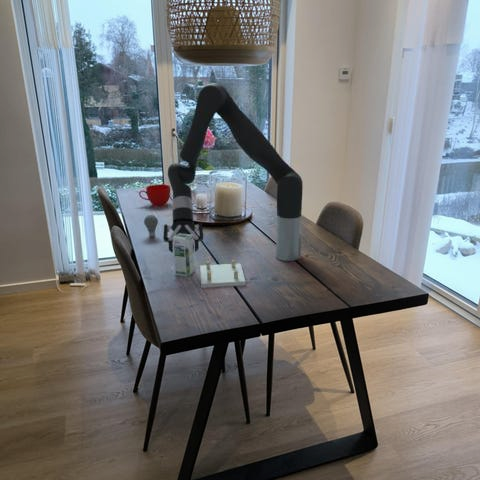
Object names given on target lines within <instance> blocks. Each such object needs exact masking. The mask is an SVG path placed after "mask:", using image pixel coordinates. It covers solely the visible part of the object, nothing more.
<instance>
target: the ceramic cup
mask: <svg viewBox="0 0 480 480" xmlns="http://www.w3.org/2000/svg"><path fill="white" fill-rule="evenodd" d="M141 193H145V194H146V197H147V198H145V197H143V195H141ZM138 195H139V197H140V198H141V199H143V200H145V201H149V203H151V205H152V206H154V207H163V206H166V204H167V203H168V202H169V200H170V197H171V185H167V184H162V183H161V184H152V185H148V186H146V188H145V190H140V191H139V192H138Z"/></svg>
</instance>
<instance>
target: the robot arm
mask: <svg viewBox="0 0 480 480" xmlns="http://www.w3.org/2000/svg"><path fill="white" fill-rule="evenodd" d="M197 95H198V97H197V100H196V105H195V110H194V113H193V118H192V121H191V124H190V127H189V129H188V131H187V134H186V137H185V139H184V142H183V145H182V147H181V150H180V153H179V158H180V159H181V160H182V161H184V162H186V163H188V164H187V165H186V164H182V163H178V162H172V163H171V164H170V165H169V167H168V169H167V178H168V181H169V184H170V188H171V191H172V223H171V224H172V225H168V224H164V225H163V242H164V243H167V244H168V251H169V252H170V253H171V254H172V253H173V254H174V248H173V237H174V236H176V235H177V234H179V233H183V234H194V253H197V252H198V250H199V248H200V246H199V243H200V242H201V241H204V231H203V224H202V223H201V222H200V223H198V224H195V223H194V207H193V205H194V204H193V201H192V200H193V197H192V196H193V195H192V189H191V187H190V186H189V185H191V183H193V182H194V181H195V178H196V174H197V171H196V170H197V165H198V161H199V160H198V159H199V157H200V155H201V153H202V149H203V148H204V145H205V141H206V136H207V133H208V129H209V126H210V124H211V122H212V120H213V118H214V116H215V115H216V114H217V115H218V116H219V117H220V118H221V119H222V121H224V123H225V124H226V125H227V127H228V129H229V131H230V133H231V136H232V137H233V138H234V140H235V142H236V143H237V145H238V146H239V148H240V149H241V150H242V151H243V152H244V153H245V154H246V155H247V157H249V158H250V159H251V160H252V161H253V162H255V164H257V165H258V166H260V167H262V168H263V169H264V170H265V171H266V172H267V173H268V174H269V175H270V177H271V178H272V179H273V181H274V182H275V184H276V231H275V232H276V237H275V238H276V239H275V241H276V242H275V258H276V259H278V260H279V261H283V262H293V261H296V260H301V259H302V257H301V255H302V243H303V242H302V237H303V236H302V234H301V232H302V231H301V228H302V209H303V206H302V205H303V179H302V177H301V176H300V175H299V173H298V172H296V171H295V170H294V169H293V168H292V167H291V166H290V165H289V164H288V163H286V161H285V160H284V159H283V158H282V157H281V155H280V154H279V152H278V151H277V150H276V148H275V147H274V146H273V144H271V142H270V141H269V140H268V139H267V137H266V135H264V133H263V132H262V131H261V130H260V129H259V127H257V126H256V124H254V122H253V121H252V120H251V119H250V118H249V117H248V116H247V115H246V114H245V113H244V112H243V111H242V109H241V108H240V107H239V106H238V105H237V103H236V102H235V100H234V99H233V98H232V96H231V95H230V93H229V92H228V91H227V89H226V87H224V85H222V84H221V83H217V82H212V83H208V84H205V85H204V86H203V87H201V89H200V90H199V92H198V94H197ZM195 229H196V230H197V231H198V232H199V235H197V234H195V231H194V230H195ZM171 230H172V233H171V235H170V236H169V234H168V233H169V232H170V231H171ZM168 236H169V237H168Z"/></svg>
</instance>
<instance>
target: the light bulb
mask: <svg viewBox="0 0 480 480" xmlns="http://www.w3.org/2000/svg"><path fill="white" fill-rule="evenodd" d="M143 223H144V226H145V227H146V228H147V232H148V235H149V237H150V238H153V237H155V236H156V228H157V226H158V225H159V219H158V217H157V216H156V215H154V214H149V215H146V216H145V218H144V220H143Z"/></svg>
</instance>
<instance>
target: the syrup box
mask: <svg viewBox="0 0 480 480" xmlns="http://www.w3.org/2000/svg"><path fill="white" fill-rule="evenodd" d="M173 259H174V275H175V276H180V277H181V276H183V277H187V278H188V277H189V278H190V276H192V274H194V272H196V261H195V260H196V259H195V241H194V234H183V233H179V234H177V235H176V236H174V237H173Z"/></svg>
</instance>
